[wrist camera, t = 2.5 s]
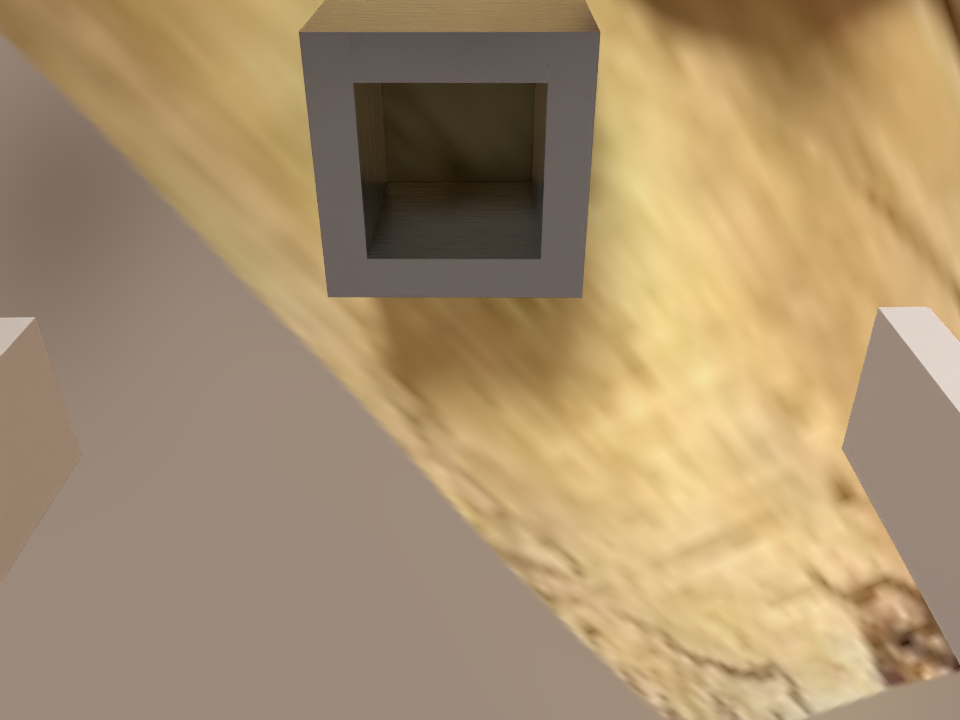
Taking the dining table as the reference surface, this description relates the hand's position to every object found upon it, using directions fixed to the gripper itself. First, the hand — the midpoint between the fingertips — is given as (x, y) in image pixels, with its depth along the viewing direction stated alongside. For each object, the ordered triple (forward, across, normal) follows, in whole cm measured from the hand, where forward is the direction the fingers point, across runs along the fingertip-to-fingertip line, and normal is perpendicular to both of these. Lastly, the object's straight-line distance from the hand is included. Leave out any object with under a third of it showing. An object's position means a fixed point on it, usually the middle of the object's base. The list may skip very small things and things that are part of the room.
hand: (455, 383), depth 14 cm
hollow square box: (+17, 0, -1) cm, 17 cm away
